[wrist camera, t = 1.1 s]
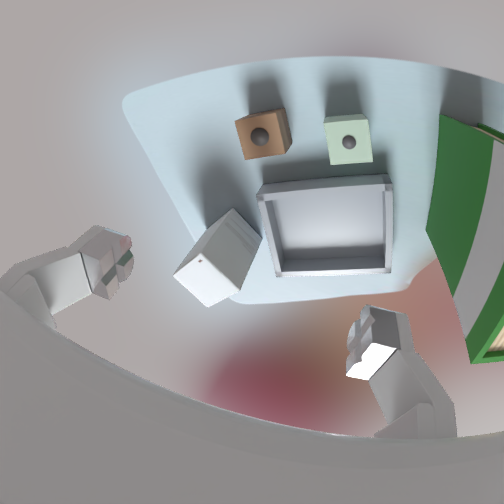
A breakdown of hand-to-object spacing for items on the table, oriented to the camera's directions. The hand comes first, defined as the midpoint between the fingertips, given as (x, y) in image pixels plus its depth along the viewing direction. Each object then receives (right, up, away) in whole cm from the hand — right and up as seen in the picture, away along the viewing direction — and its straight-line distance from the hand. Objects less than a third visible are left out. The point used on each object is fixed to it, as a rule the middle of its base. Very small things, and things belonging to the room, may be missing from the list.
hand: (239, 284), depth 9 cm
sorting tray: (+12, +6, +32) cm, 34 cm away
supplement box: (-3, +4, +38) cm, 38 cm away
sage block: (+13, +17, +24) cm, 31 cm away
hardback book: (+29, +12, +22) cm, 38 cm away
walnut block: (+3, +18, +26) cm, 32 cm away
